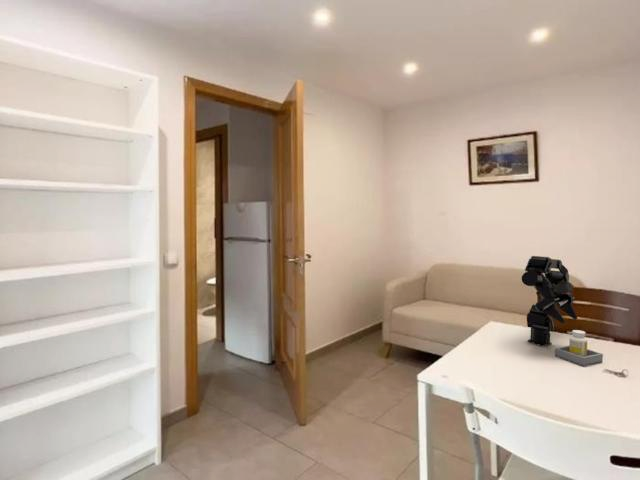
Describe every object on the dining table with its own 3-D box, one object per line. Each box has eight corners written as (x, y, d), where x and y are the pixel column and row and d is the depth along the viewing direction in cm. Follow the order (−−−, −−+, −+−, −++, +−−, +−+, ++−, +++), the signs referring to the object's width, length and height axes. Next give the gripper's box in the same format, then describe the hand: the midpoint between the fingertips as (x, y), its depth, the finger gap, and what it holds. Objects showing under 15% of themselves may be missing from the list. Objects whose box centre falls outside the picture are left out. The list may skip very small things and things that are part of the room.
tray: (554, 356, 145) (554, 348, 144) (573, 352, 149) (573, 344, 148) (583, 366, 135) (583, 358, 135) (602, 362, 139) (602, 353, 139)
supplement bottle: (580, 354, 144) (582, 329, 144) (589, 360, 139) (591, 334, 138) (565, 354, 145) (567, 329, 144) (574, 360, 139) (575, 333, 139)
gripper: (546, 276, 142) (575, 313, 134) (571, 272, 152) (600, 306, 144) (523, 292, 150) (550, 328, 141) (549, 288, 159) (575, 321, 151)
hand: (570, 320), depth 144 cm, fingers open, 9 cm apart
